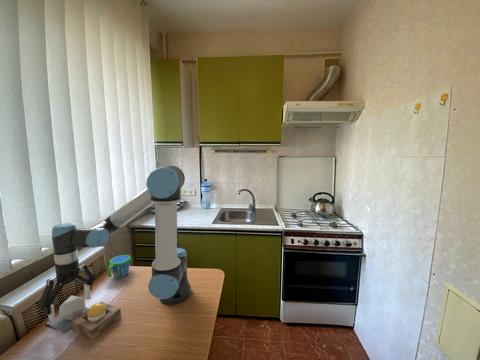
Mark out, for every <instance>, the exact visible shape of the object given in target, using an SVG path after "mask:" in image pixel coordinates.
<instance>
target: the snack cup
mask: <svg viewBox="0 0 480 360" xmlns="http://www.w3.org/2000/svg"><path fill="white" fill-rule="evenodd" d="M108 263H109V266H108V267H107V277H108V278H112V276H113V278H115V279H116V280H117V279H124V278H126V277H127V276H128V275H129V271H130V265H132V264H133V257H132V256H131V255H128V254H121V255H116V256H114V257H112V258H111V259H110V260H109V261H108ZM111 272H112V273H111Z"/></svg>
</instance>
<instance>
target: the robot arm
mask: <svg viewBox="0 0 480 360" xmlns="http://www.w3.org/2000/svg"><path fill="white" fill-rule="evenodd" d="M185 180H186V177H185V174H184V172H183V170H182V169H181V168H180V167H178V166H175V165H168V166H160V167H156V168H155V169H153V170H152V171H151V172H150V173H149V174H148V176H147V177H146V182H145V183H146V185H145V186H146V188H145V189H144V190H142V191H141V192H139V193H138V194H137V195H135V196H134V197H133V198H132V199H130V200H129V201H128V202H126V203H125V204H124V205H122V206H121V207H119V208H118V209H117V210H115V211H114V212H113V213H111V214H110V215H109V216H107V217H106V218H105V219H104V220H102V221H100V222H99V223H96V224H95V225H92V226H90V227H89V228H77V226H76V225H77V224H76V223H73V222H64V223H60V224H56V225H54V226H53V227H52V229H51V239H52V240H51V241H52V246H53V258H54V263H55V264H54V268H55V269H54V270H55V278H52V279H51V278H48V279H47V280H46V283H45V284H46V285H45V288H44V290H43V292H42V294H41V297H40V299H39V302H38V304H37V308H39V309H41V310H43V309H44V313H45V314H46V315H47V316H48V321H52V322H53V321H55V317H56V314H55V306H54V304H53V303H54V301H55V300H56V298H57V297H58V295H59V293H60V292H61V290H62V289H63V288H64V287H65V285H68V284H70V283H72V282H75V280H79V281H80V282H83V283H85V284H83V289H84V299H86V300H91V298H92V297H91V291H92V289H93V288H92V285H93V284H94V282H95V281H96V280H97V279H96V277H95V276H94V275H93V273H92V272H91V271H90V270H89V269H88V265H87V264H84V263H82V264H80V262H79V252H78V251H79V250H78V248H91V249H92V248H100V247H102V248H103V247H104V246H105V245H106V244H107V242H109V238H110V236H112V235H113V234H115V233H117V232H118V231H119V230H120V229H122V228H123V227H124V226H125V225H127V224H128V223H129V222H131V221H132V220H133V219H134V218H136V217H137V216H139V215H140V214H141V213H142V212H144V211H146V209H148V208H149V207H151V206H152V205H154V226H155V227H154V228H155V232H154V234H155V235H154V237H155V238H154V240H155V244H154V245H155V259H154V260H153V261H152V263H151V277H150V279H149V281H148V285H147V289H148V292H149V294H150V295H151V296H154V298H156V299H159V301H160V302H161V303H163V304H166V305H177V304H181V303H183V302H185V301H186V300H187V299H189V297H190V296H191V294H192V288H191V284H190V282H189V279H188V263H187V260H188V255H187V254H188V253H187V250H186V249H184V248H182V247H178V203H179V202H180V201H181V198H182V197H181V194H182V193H181V192H182V188H183V186H184V184H185V182H186V181H185ZM80 271H81V272H83V274H84V275H85V276H86V277H87V278H85V277H83V276H81V275H79V273H80Z"/></svg>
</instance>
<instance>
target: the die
mask: <svg viewBox="0 0 480 360" xmlns="http://www.w3.org/2000/svg"><path fill="white" fill-rule="evenodd" d="M85 299H86V298H85V297H81V296H75V295H70V296H69V297H67V299H66V300H65V301H63V303H61V305H60V306H59V309H58V310H59V311H58V313H59V314H58V316H59V318H62V319H68V320H73V319H75V318H76V317H78V315H79V314H80V313H81V312H82V311H83V310H84V309H85V307H86V302H85Z"/></svg>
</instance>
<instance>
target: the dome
mask: <svg viewBox="0 0 480 360" xmlns="http://www.w3.org/2000/svg"><path fill="white" fill-rule="evenodd" d="M88 308H89V310H88V321H90V322H92V323H95V322H96V321H98V320H99V319H101V318H102V317H103V316H105V315H106V312H105V306H104V305H103V304H102V303H99V302H96V303H94V304H92V305H91V306H90V307H88Z"/></svg>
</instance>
